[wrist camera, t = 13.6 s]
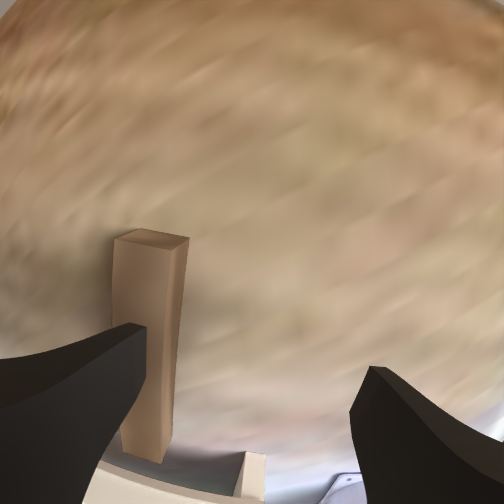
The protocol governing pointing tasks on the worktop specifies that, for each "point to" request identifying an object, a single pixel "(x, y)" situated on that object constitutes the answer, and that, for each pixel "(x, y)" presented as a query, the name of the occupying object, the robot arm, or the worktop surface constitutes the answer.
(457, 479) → the robot arm
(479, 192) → the worktop surface
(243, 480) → the cream step stool
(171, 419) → the tan long block
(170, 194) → the worktop surface
